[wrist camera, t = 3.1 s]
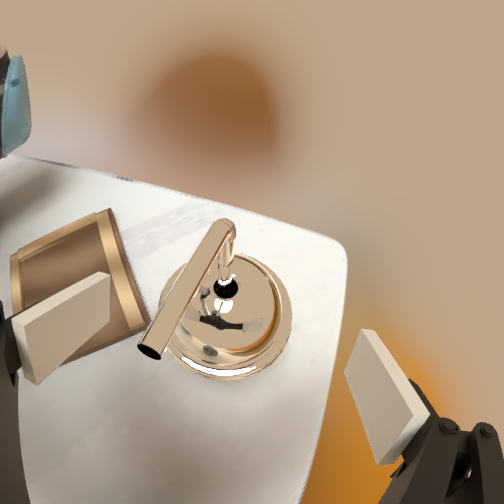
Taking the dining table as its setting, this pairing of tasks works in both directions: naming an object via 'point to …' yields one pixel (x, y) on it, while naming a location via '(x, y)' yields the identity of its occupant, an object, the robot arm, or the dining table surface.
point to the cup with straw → (220, 312)
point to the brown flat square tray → (81, 275)
